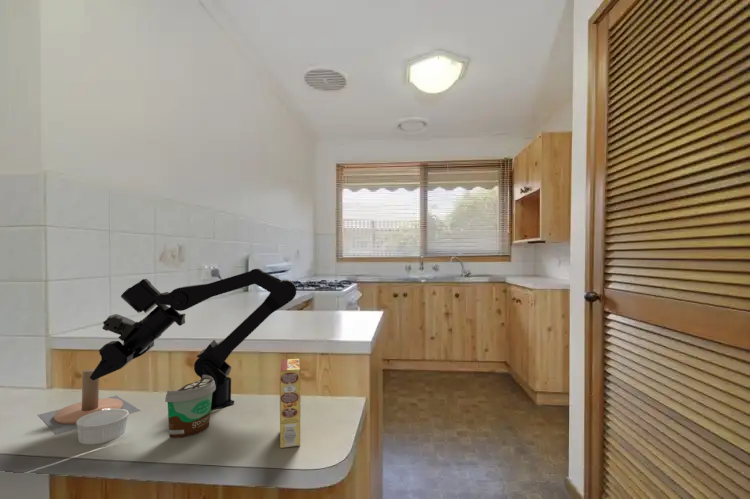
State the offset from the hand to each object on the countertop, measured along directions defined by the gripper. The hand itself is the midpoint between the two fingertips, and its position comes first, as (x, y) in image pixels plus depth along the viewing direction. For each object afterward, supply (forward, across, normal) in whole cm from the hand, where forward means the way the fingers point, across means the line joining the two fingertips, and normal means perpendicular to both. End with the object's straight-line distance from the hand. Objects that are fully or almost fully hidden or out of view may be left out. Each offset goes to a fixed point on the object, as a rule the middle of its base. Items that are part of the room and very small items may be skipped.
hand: (101, 373), depth 90 cm
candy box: (-25, +23, +38) cm, 51 cm away
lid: (+8, 0, +5) cm, 9 cm away
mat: (+8, 0, +5) cm, 10 cm away
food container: (-11, +14, +24) cm, 30 cm away
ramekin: (+2, +14, +12) cm, 18 cm away
